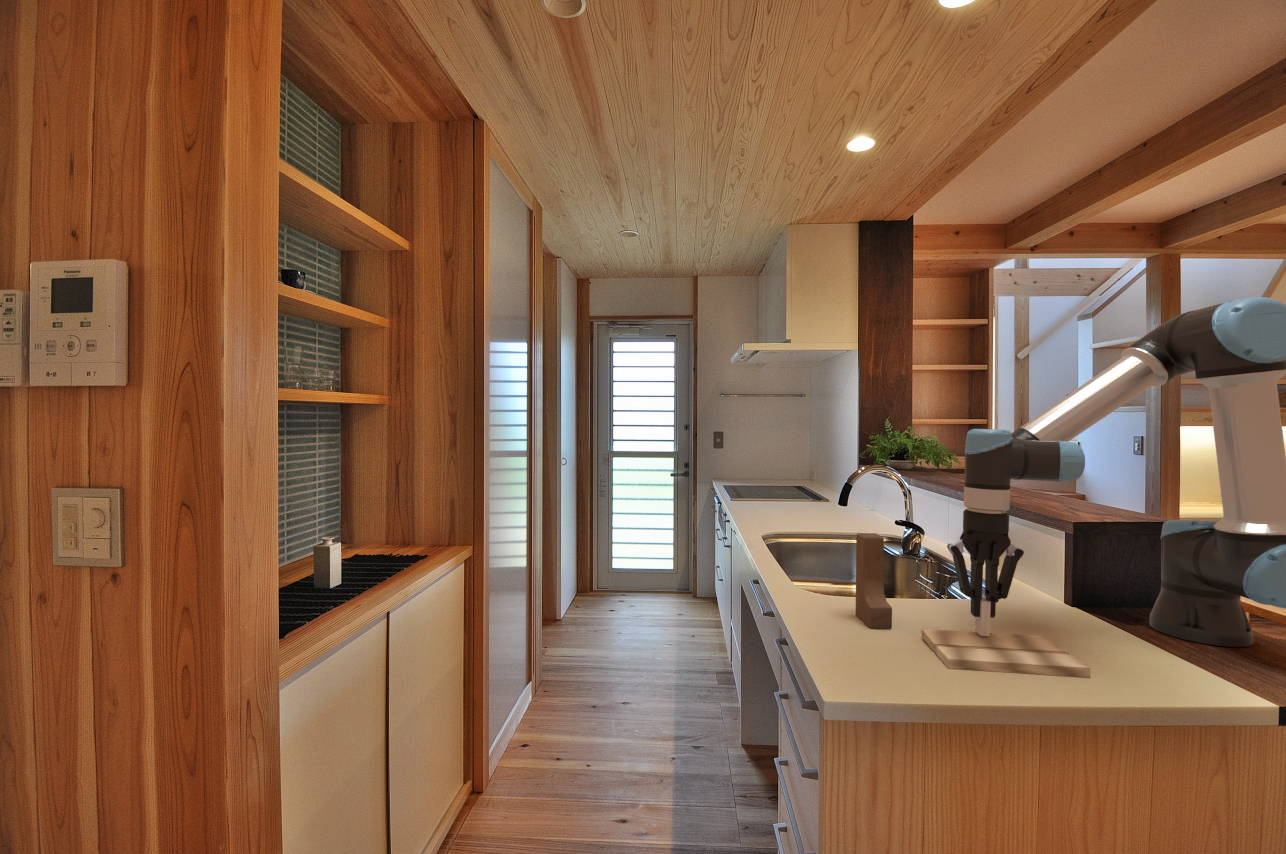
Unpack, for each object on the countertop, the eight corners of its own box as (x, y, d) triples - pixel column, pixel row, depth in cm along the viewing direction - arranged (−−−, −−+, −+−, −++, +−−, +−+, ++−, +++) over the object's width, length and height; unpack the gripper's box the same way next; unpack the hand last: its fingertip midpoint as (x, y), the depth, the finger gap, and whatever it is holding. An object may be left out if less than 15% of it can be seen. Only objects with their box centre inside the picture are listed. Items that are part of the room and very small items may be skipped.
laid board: (1067, 661, 103) (1067, 652, 103) (1090, 677, 96) (1090, 667, 96) (935, 653, 106) (935, 644, 106) (948, 668, 100) (948, 658, 99)
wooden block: (892, 629, 118) (893, 541, 118) (870, 629, 119) (871, 540, 119) (875, 615, 127) (876, 533, 127) (854, 614, 128) (855, 532, 128)
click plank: (1044, 643, 110) (1044, 636, 110) (1065, 660, 103) (1065, 651, 103) (921, 636, 113) (921, 629, 113) (934, 651, 107) (934, 643, 106)
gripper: (1013, 508, 113) (1010, 629, 113) (942, 505, 115) (938, 624, 115) (1033, 514, 106) (1029, 643, 106) (956, 511, 108) (952, 638, 108)
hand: (982, 633), depth 111 cm, fingers closed
